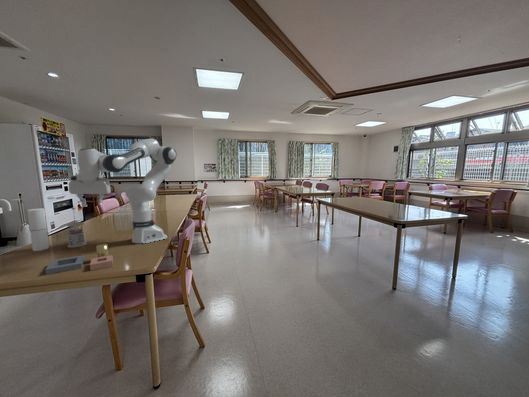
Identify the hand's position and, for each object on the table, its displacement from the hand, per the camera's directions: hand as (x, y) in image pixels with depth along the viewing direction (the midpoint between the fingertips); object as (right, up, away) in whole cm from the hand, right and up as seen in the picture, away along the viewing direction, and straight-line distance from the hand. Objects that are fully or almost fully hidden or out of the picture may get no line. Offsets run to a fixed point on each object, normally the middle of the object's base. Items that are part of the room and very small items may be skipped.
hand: (91, 202), depth 123 cm
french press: (-26, -29, +20) cm, 44 cm away
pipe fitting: (+8, -32, -2) cm, 33 cm away
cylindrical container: (-42, -30, +13) cm, 53 cm away
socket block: (-3, -33, -12) cm, 35 cm away
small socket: (+14, -33, -10) cm, 37 cm away
